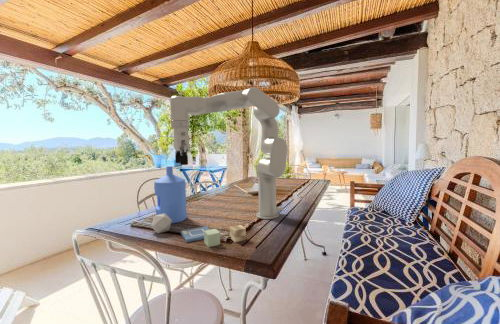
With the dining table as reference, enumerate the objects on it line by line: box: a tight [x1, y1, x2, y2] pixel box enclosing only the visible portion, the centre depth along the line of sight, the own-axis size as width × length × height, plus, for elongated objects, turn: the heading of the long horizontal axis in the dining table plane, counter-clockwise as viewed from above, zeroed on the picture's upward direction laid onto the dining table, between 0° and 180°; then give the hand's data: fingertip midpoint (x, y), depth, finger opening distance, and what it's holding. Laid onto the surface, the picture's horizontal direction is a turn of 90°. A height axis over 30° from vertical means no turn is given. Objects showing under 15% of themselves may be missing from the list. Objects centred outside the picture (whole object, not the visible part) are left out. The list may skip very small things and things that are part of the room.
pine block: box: [229, 224, 247, 243], centre depth 103 cm, size 5×5×5 cm
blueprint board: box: [180, 225, 211, 243], centre depth 108 cm, size 12×11×1 cm
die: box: [150, 213, 172, 234], centre depth 113 cm, size 8×9×10 cm
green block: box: [203, 228, 221, 248], centre depth 99 cm, size 5×5×5 cm
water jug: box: [153, 166, 188, 225], centre depth 128 cm, size 16×16×28 cm
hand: (181, 163), depth 110 cm, fingers open, 9 cm apart
